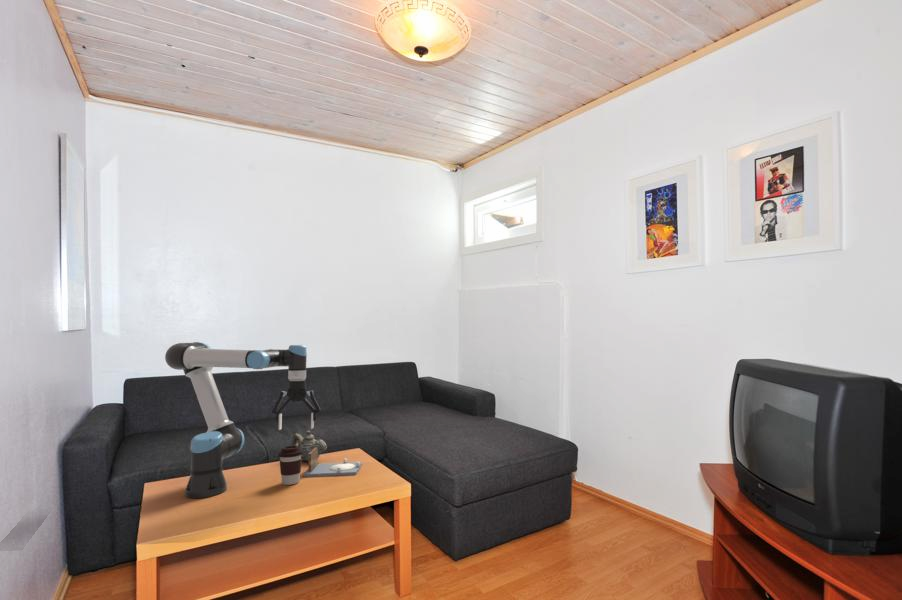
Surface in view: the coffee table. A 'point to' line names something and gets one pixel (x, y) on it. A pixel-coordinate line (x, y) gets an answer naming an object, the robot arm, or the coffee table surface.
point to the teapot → (308, 444)
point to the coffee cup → (290, 464)
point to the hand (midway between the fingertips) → (296, 428)
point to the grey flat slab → (334, 469)
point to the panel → (312, 459)
